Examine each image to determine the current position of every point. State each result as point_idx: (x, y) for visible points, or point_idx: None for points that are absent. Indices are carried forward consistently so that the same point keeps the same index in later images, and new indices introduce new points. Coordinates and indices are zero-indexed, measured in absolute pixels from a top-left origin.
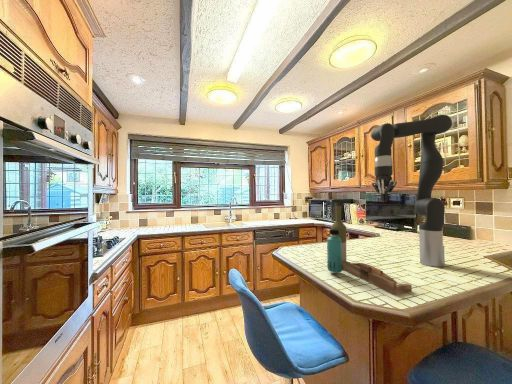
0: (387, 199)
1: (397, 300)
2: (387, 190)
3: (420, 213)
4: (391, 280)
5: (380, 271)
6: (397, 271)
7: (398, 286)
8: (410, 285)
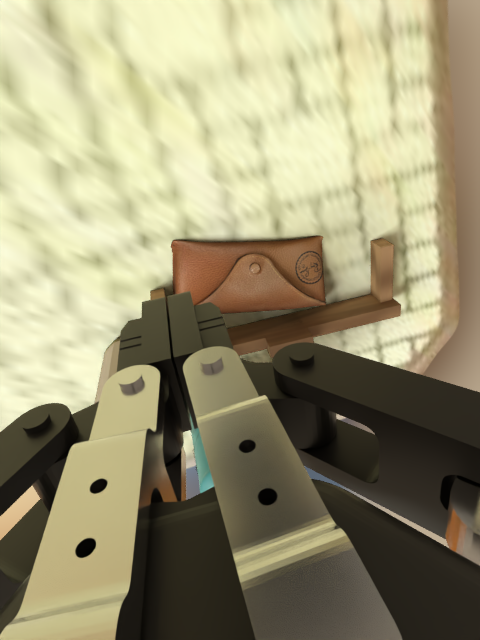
0: (219, 312)
1: (408, 308)
2: (340, 445)
3: None
4: (321, 260)
5: (300, 291)
6: (208, 146)
7: (392, 290)
8: (393, 248)
